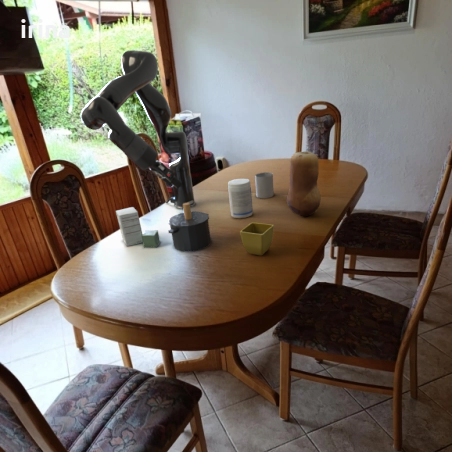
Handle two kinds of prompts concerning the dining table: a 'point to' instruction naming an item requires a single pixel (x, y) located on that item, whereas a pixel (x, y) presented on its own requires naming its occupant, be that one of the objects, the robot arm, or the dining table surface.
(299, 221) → the dining table surface
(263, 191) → the cup
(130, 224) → the white packaging box
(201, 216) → the lid
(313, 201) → the butternut squash
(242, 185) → the supplement tub
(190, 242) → the pot
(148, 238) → the block
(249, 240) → the flower pot
